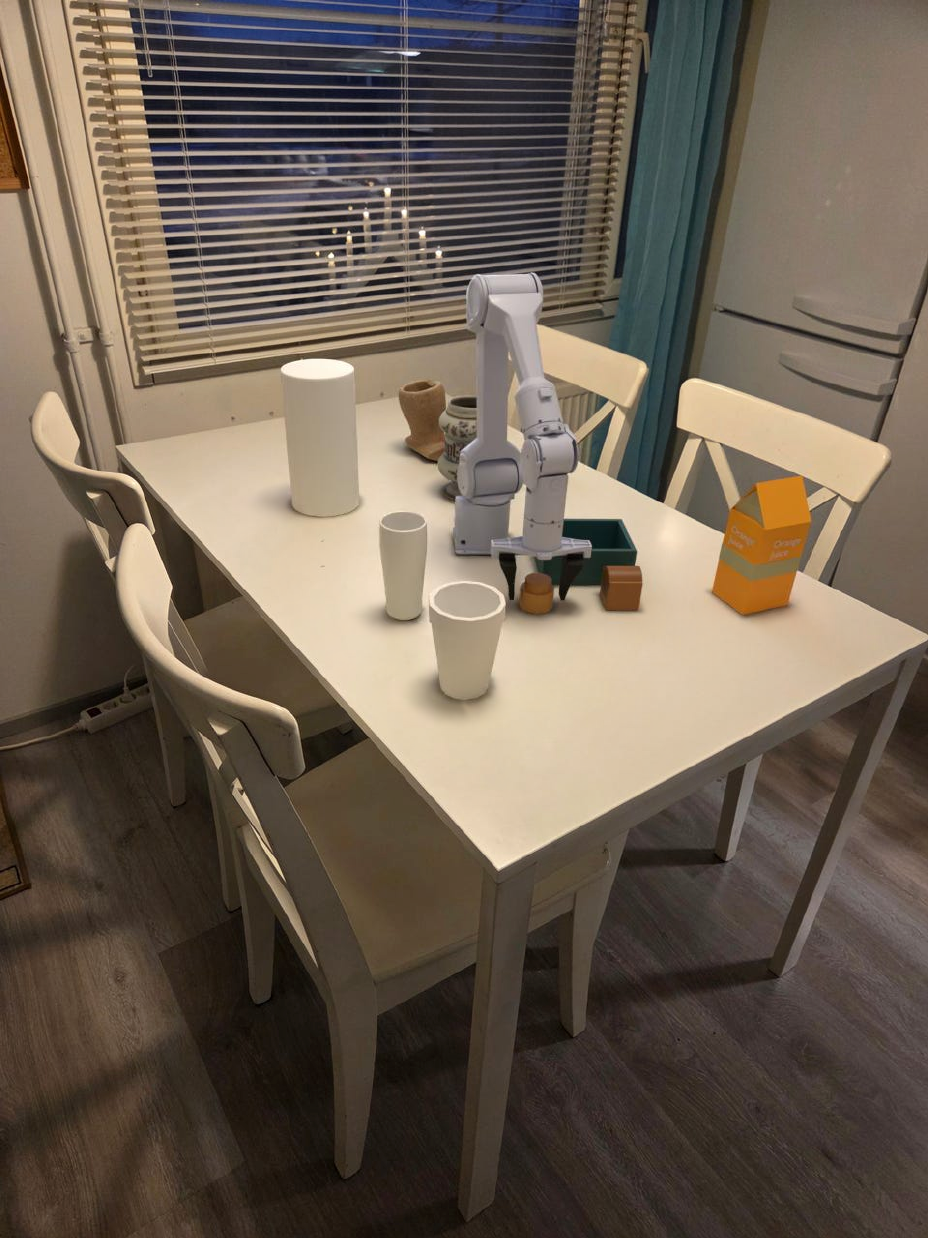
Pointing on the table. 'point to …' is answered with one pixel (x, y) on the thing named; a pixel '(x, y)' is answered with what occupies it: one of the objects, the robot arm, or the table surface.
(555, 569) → the dark green open box
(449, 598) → the foam cup
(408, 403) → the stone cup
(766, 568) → the orange juice
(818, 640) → the table surface
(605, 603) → the square bread
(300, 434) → the cylinder
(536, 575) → the round bread
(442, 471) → the apothecary jar
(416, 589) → the drinking glass
